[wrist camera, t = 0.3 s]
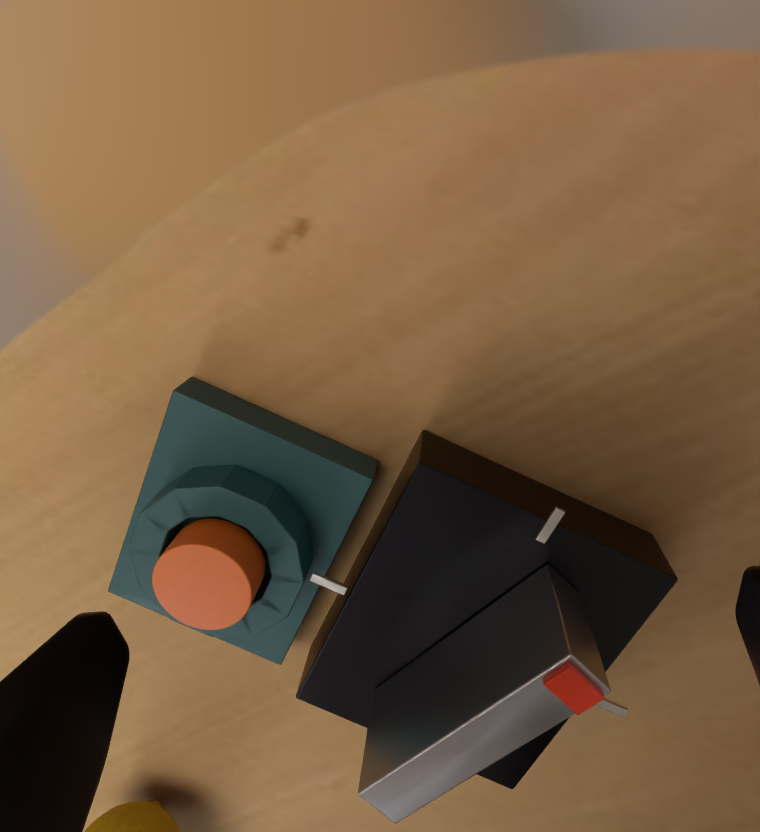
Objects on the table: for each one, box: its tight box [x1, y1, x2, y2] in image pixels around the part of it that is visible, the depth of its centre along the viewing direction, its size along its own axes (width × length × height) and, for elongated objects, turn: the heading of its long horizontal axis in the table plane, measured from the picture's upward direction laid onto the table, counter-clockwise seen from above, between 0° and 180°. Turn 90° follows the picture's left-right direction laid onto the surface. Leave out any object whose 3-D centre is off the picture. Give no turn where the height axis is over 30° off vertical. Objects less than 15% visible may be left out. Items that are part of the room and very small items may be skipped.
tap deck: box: [296, 430, 678, 789], centre depth 25 cm, size 13×13×3 cm
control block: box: [108, 377, 378, 665], centre depth 24 cm, size 10×8×4 cm
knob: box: [358, 564, 611, 823], centre depth 21 cm, size 9×2×5 cm, turn 136°
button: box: [152, 519, 265, 630], centre depth 22 cm, size 4×4×2 cm
